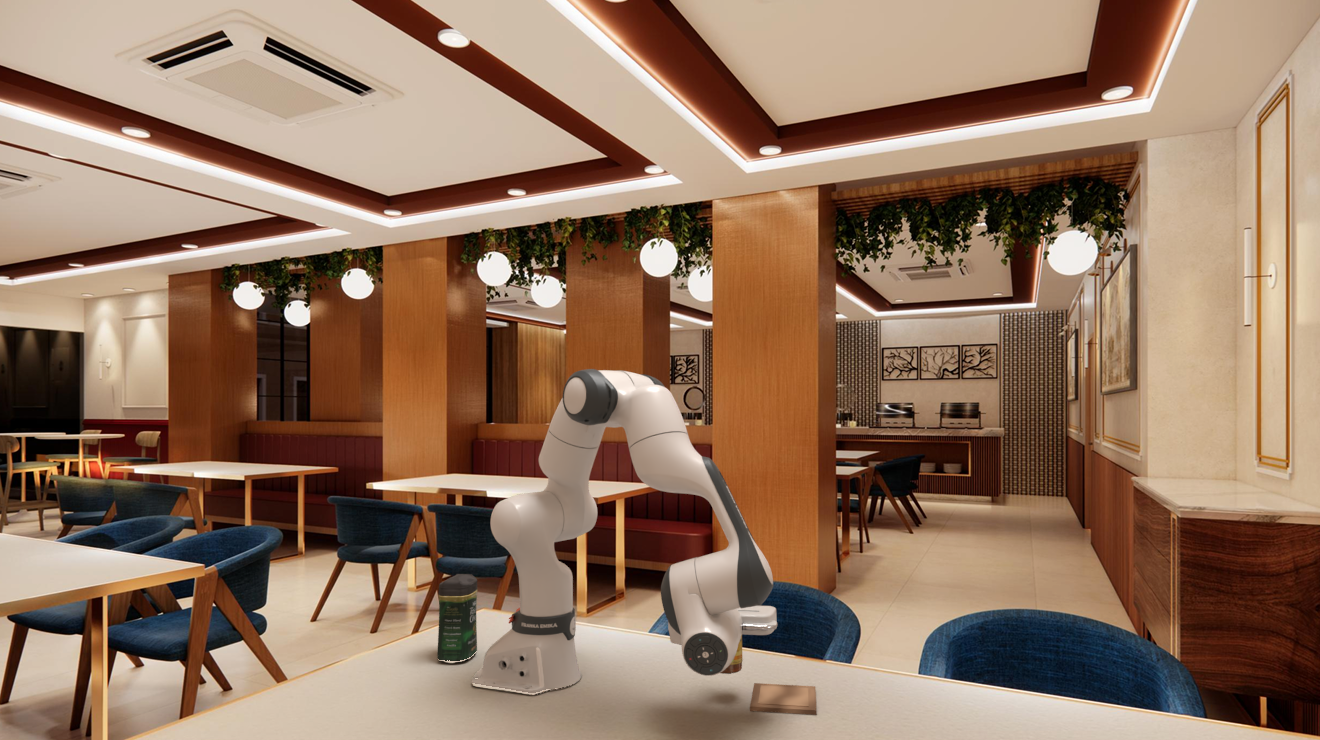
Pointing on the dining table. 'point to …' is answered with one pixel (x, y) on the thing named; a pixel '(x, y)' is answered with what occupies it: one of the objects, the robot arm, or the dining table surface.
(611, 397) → the robot arm
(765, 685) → the trivet
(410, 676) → the dining table surface
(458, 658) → the coffee jar
